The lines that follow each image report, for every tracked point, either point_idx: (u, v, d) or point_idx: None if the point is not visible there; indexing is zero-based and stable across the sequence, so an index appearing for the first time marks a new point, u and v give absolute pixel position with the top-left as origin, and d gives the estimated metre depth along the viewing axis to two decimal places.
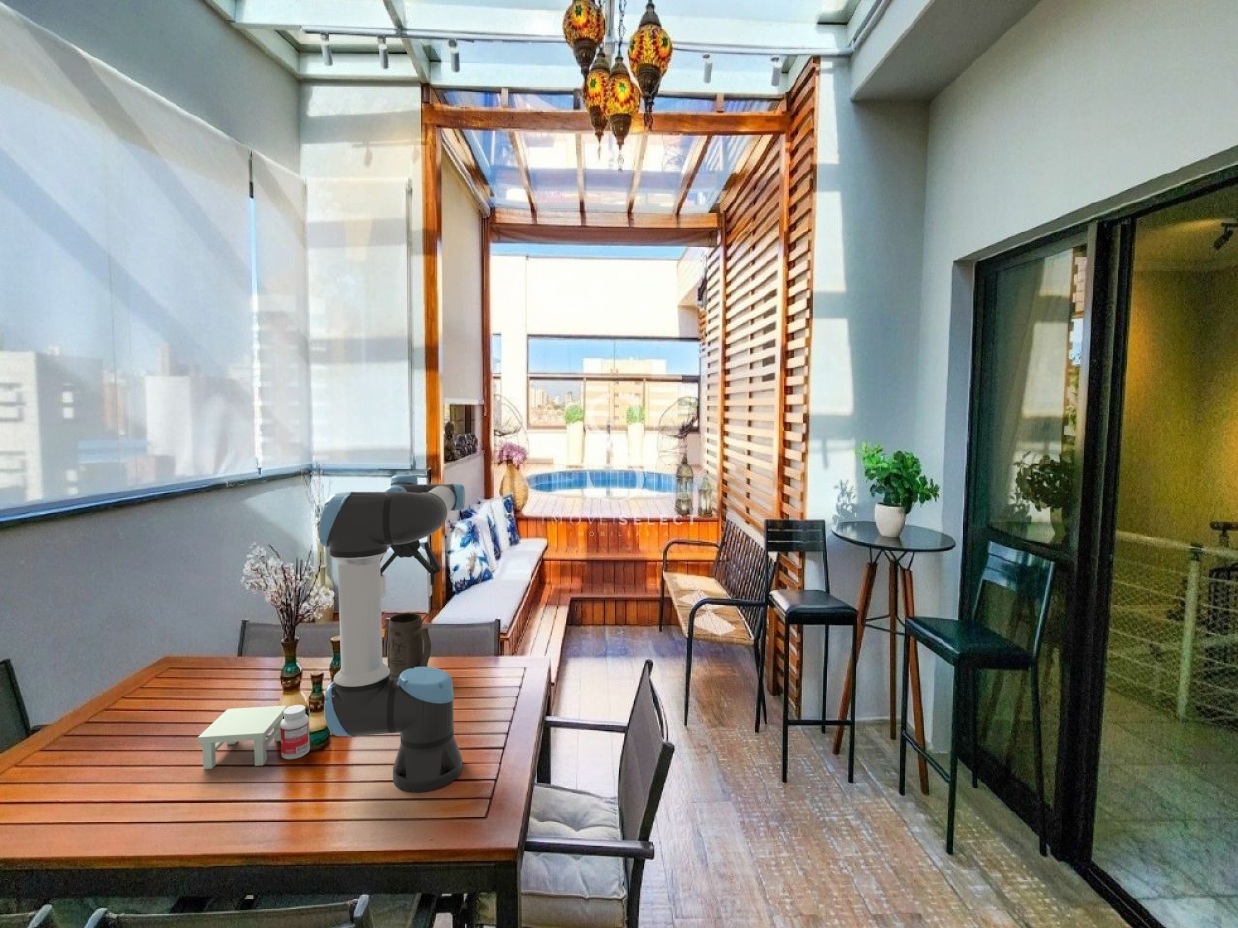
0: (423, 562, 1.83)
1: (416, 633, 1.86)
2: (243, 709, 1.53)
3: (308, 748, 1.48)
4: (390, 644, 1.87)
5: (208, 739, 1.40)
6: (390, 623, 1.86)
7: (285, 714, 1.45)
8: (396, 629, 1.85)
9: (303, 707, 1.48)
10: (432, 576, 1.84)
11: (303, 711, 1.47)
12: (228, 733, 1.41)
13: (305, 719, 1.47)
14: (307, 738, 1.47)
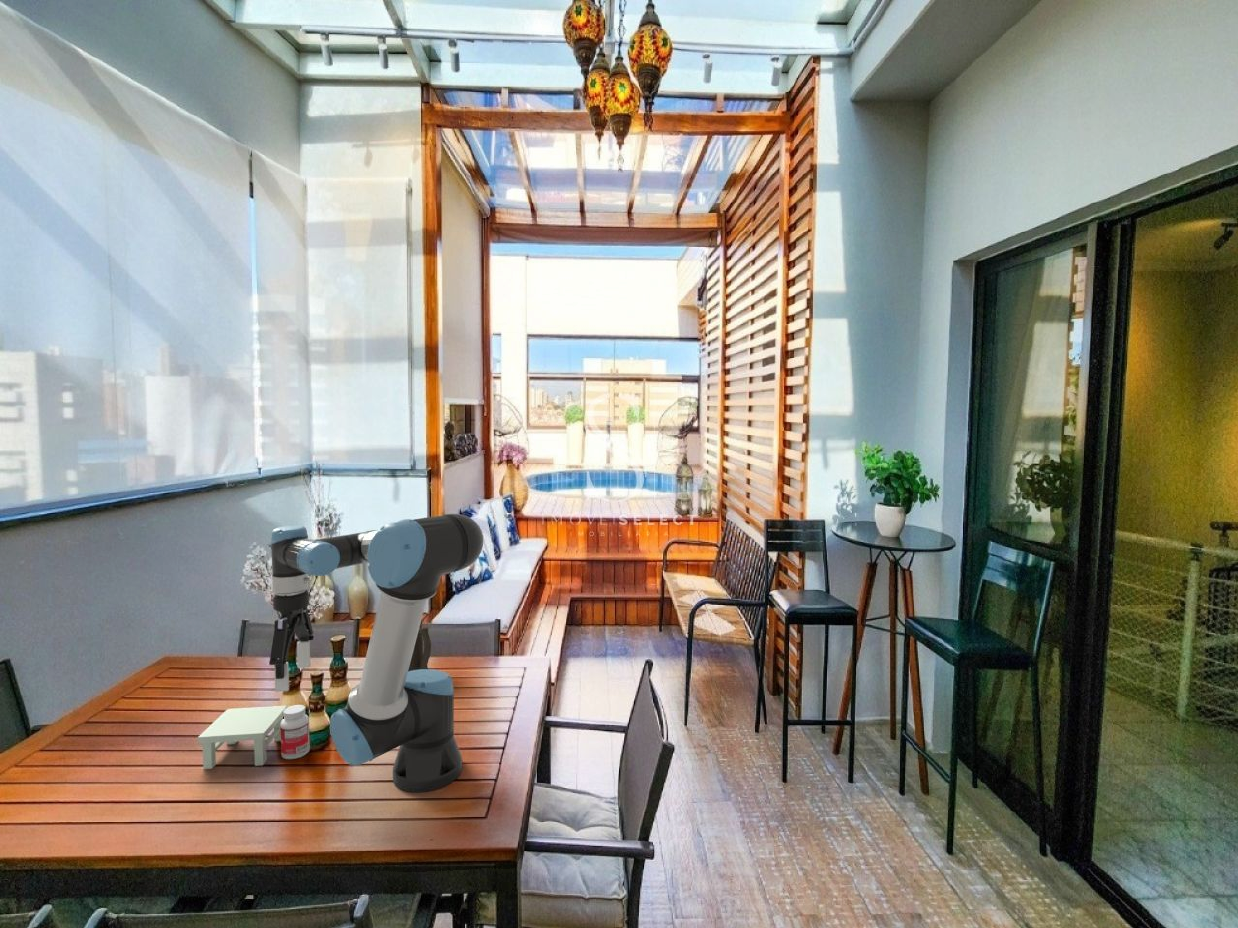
0: None
1: None
2: (243, 709, 1.53)
3: (308, 748, 1.48)
4: None
5: (208, 739, 1.40)
6: None
7: (285, 714, 1.45)
8: None
9: (303, 707, 1.48)
10: None
11: (303, 711, 1.47)
12: (228, 733, 1.41)
13: (305, 719, 1.47)
14: (307, 738, 1.47)
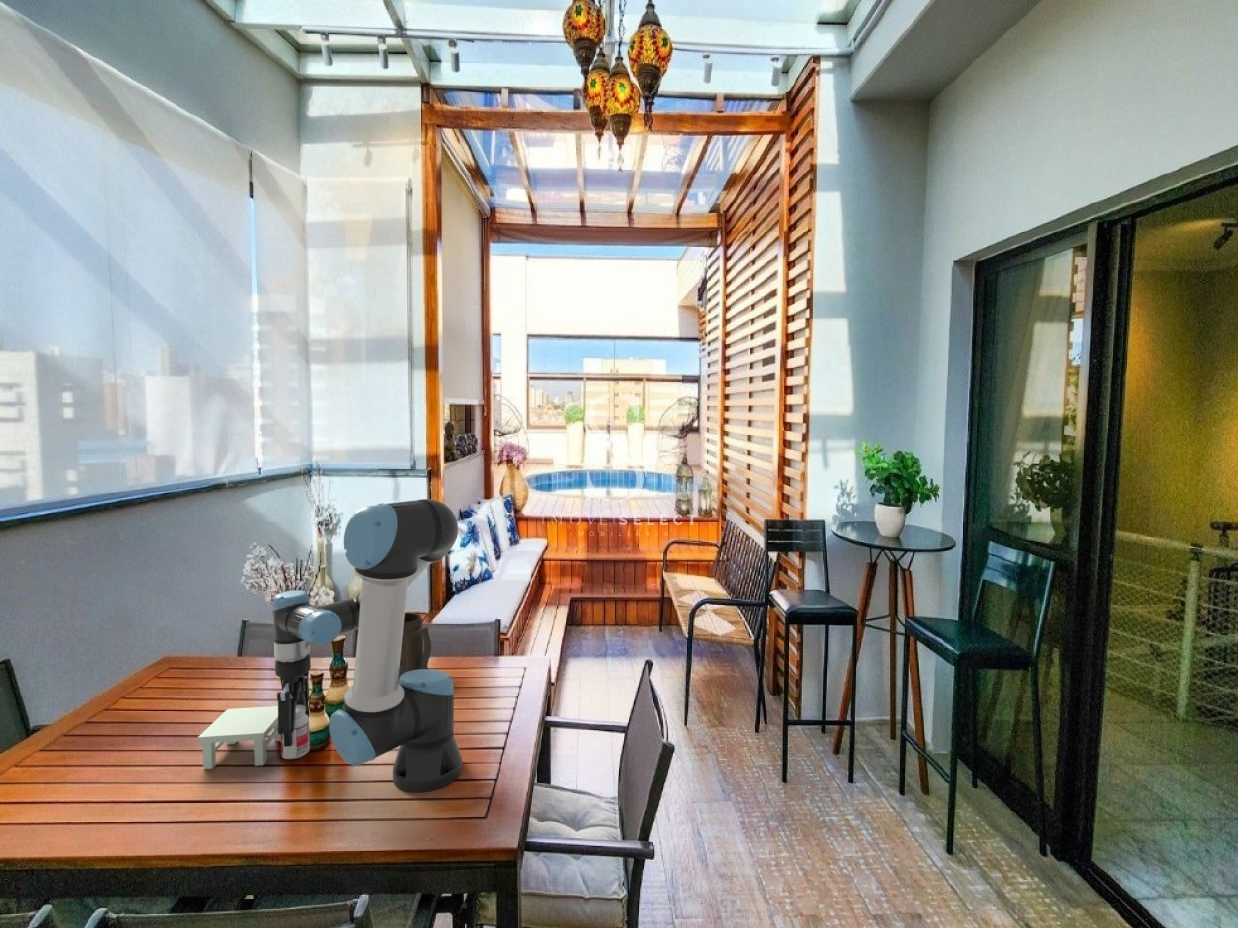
0: None
1: (416, 633, 1.86)
2: (243, 709, 1.53)
3: (308, 748, 1.48)
4: None
5: (208, 739, 1.40)
6: None
7: None
8: None
9: (303, 707, 1.48)
10: None
11: (303, 711, 1.47)
12: (228, 733, 1.41)
13: (304, 719, 1.47)
14: (307, 738, 1.47)
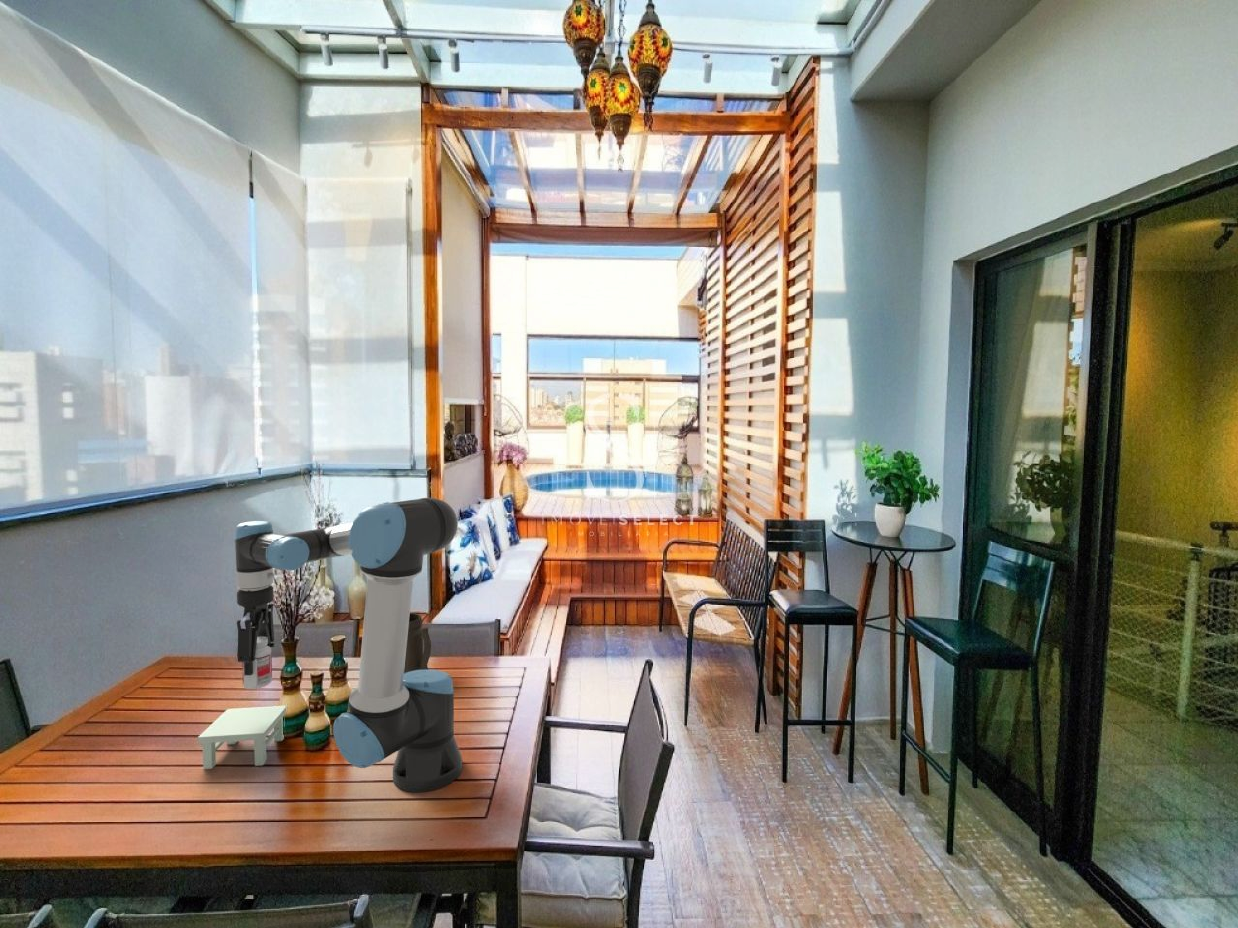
0: None
1: (416, 633, 1.86)
2: (243, 709, 1.53)
3: (270, 679, 1.47)
4: None
5: (208, 739, 1.40)
6: None
7: None
8: None
9: (265, 638, 1.47)
10: None
11: (265, 642, 1.46)
12: (228, 733, 1.41)
13: (266, 650, 1.46)
14: (269, 669, 1.47)
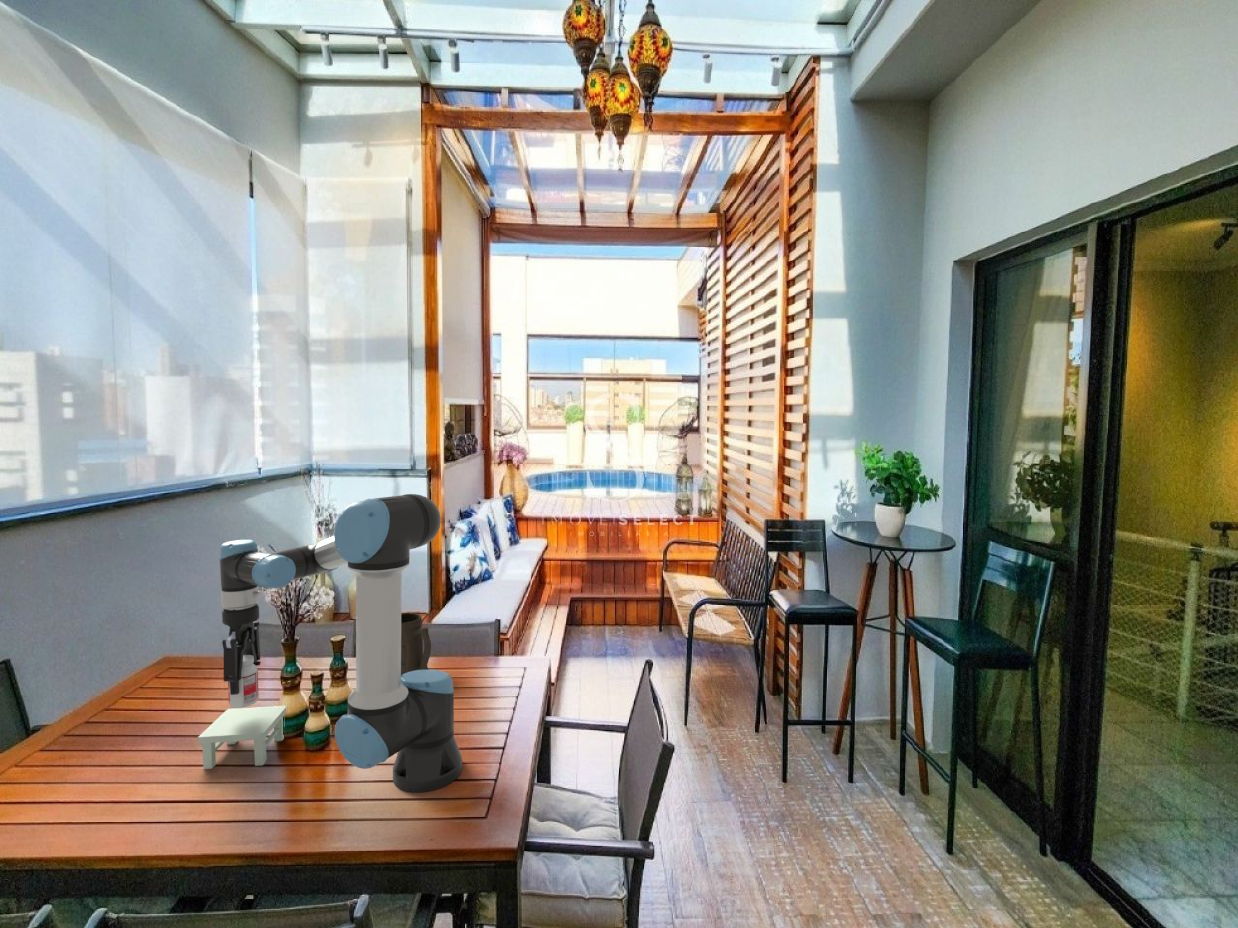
0: None
1: (416, 633, 1.86)
2: (243, 709, 1.53)
3: (256, 698, 1.47)
4: None
5: (208, 739, 1.40)
6: None
7: None
8: None
9: (251, 657, 1.47)
10: None
11: (251, 660, 1.46)
12: (228, 733, 1.41)
13: (252, 668, 1.46)
14: (255, 688, 1.47)
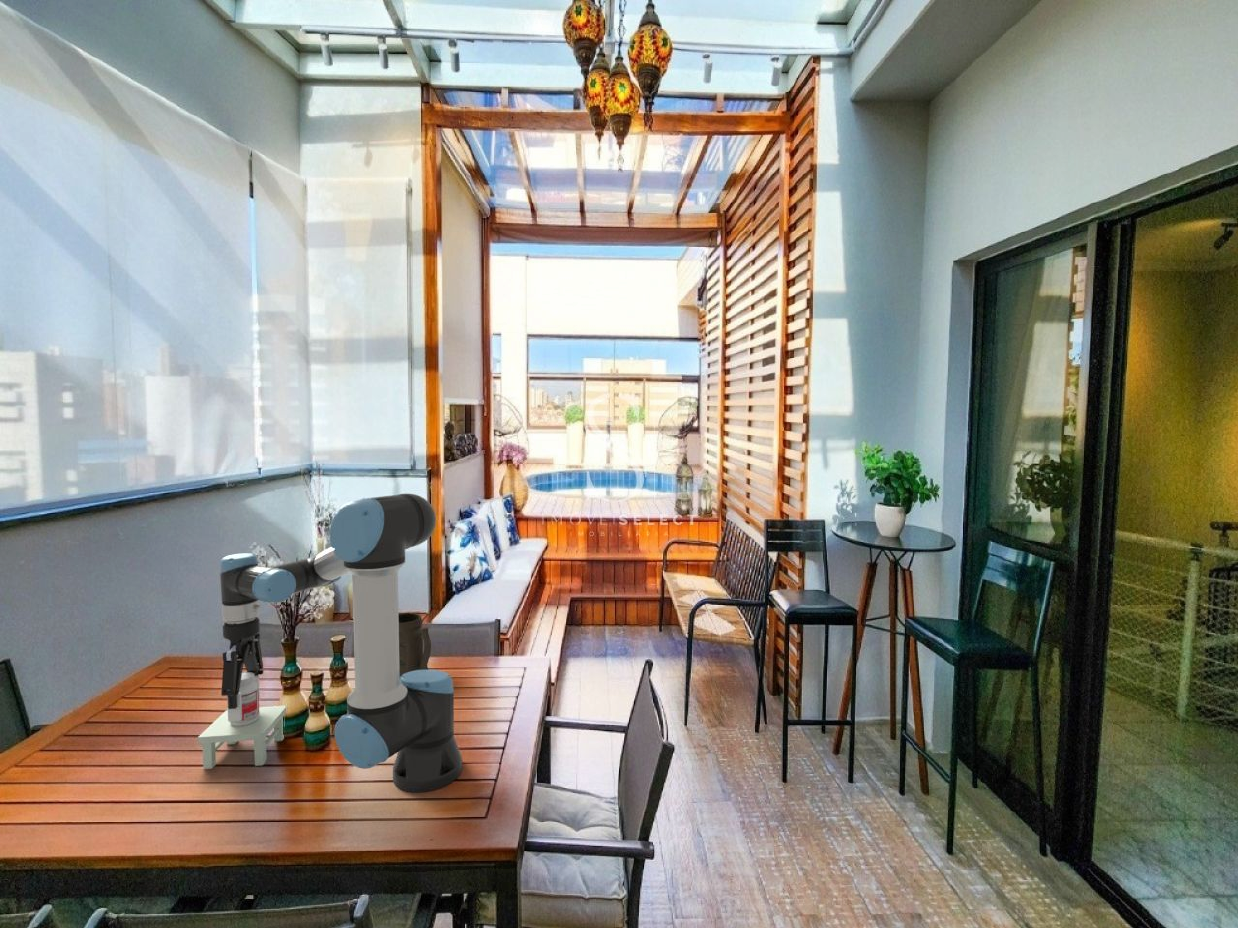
0: None
1: (416, 633, 1.86)
2: None
3: (257, 715, 1.47)
4: None
5: (208, 739, 1.40)
6: None
7: None
8: None
9: (252, 674, 1.47)
10: None
11: (252, 678, 1.46)
12: (228, 733, 1.41)
13: (253, 686, 1.46)
14: (256, 705, 1.47)
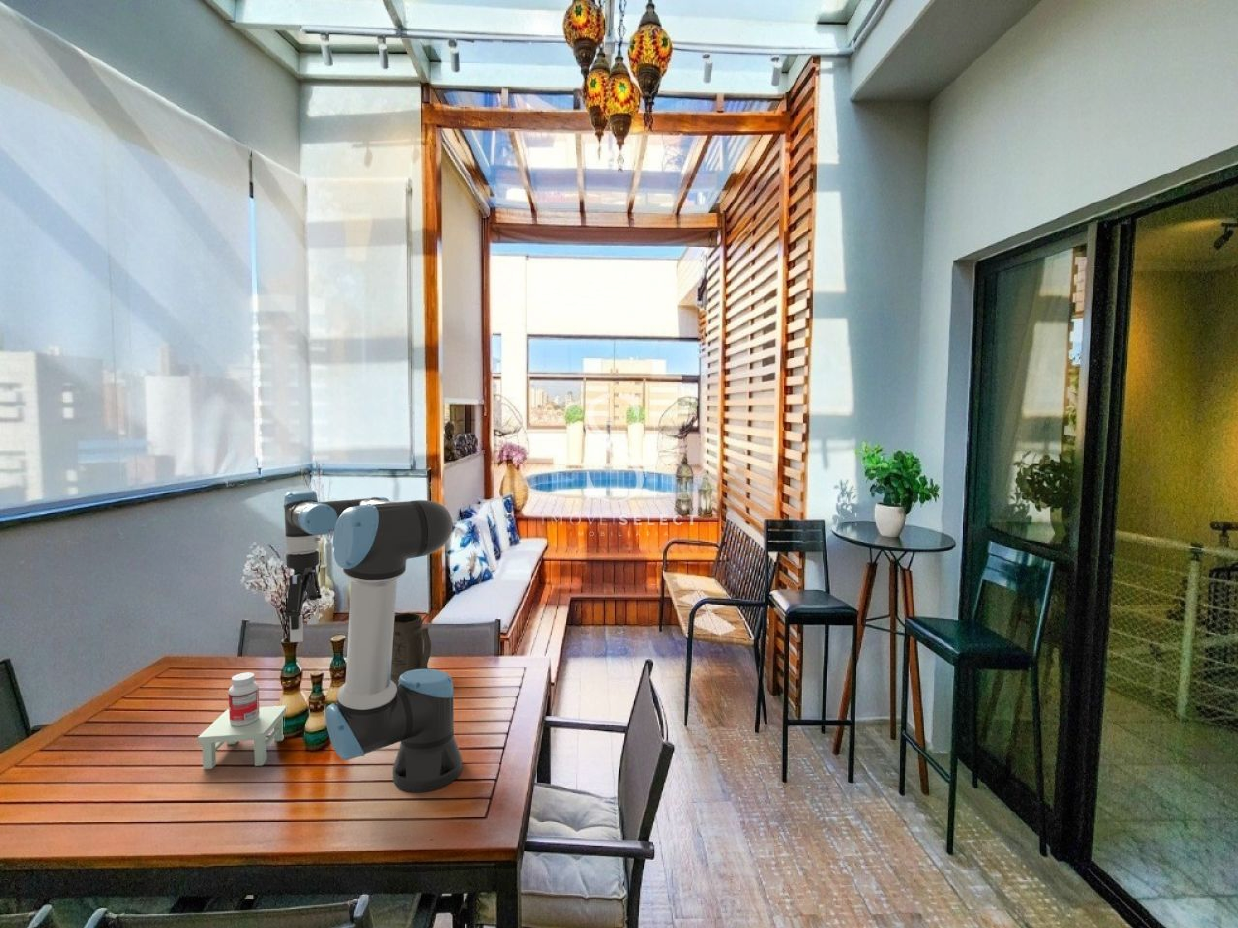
0: None
1: (416, 633, 1.86)
2: None
3: (257, 715, 1.47)
4: None
5: (208, 739, 1.40)
6: None
7: (233, 681, 1.44)
8: (396, 629, 1.85)
9: (252, 674, 1.47)
10: None
11: (252, 678, 1.46)
12: (228, 733, 1.41)
13: (253, 686, 1.46)
14: (256, 705, 1.47)
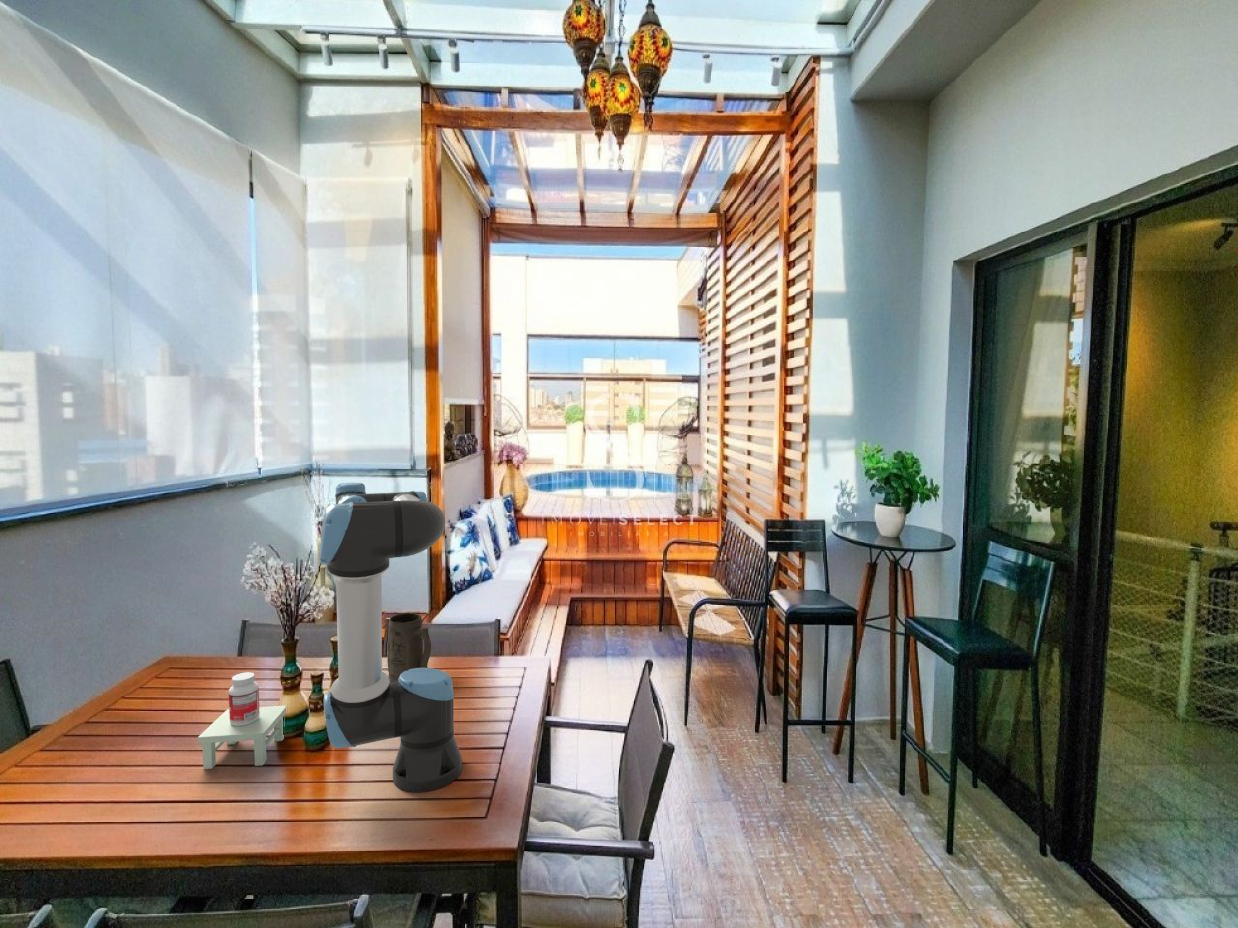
0: None
1: (416, 633, 1.86)
2: None
3: (257, 715, 1.47)
4: (390, 644, 1.87)
5: (208, 739, 1.40)
6: (390, 623, 1.86)
7: (233, 681, 1.44)
8: (396, 629, 1.85)
9: (252, 674, 1.47)
10: None
11: (252, 678, 1.46)
12: (228, 733, 1.41)
13: (253, 686, 1.46)
14: (256, 705, 1.47)
